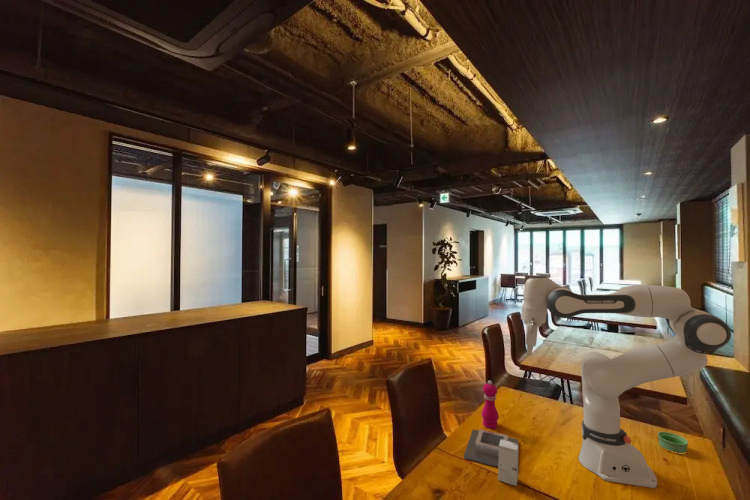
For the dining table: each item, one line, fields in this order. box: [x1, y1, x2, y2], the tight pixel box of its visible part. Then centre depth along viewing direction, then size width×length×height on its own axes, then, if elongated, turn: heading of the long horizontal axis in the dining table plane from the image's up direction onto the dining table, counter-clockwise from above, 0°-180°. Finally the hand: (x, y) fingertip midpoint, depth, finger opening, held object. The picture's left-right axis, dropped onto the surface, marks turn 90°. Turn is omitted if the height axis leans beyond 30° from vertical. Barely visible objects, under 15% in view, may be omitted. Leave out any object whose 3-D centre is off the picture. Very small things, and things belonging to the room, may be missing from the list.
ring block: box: [463, 428, 519, 468], centre depth 129 cm, size 18×20×4 cm
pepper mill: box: [481, 380, 499, 430], centre depth 147 cm, size 7×7×20 cm
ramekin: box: [657, 431, 689, 453], centre depth 129 cm, size 9×9×4 cm
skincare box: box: [497, 439, 520, 487], centre depth 112 cm, size 6×4×12 cm
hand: (529, 350), depth 130 cm, fingers open, 8 cm apart
